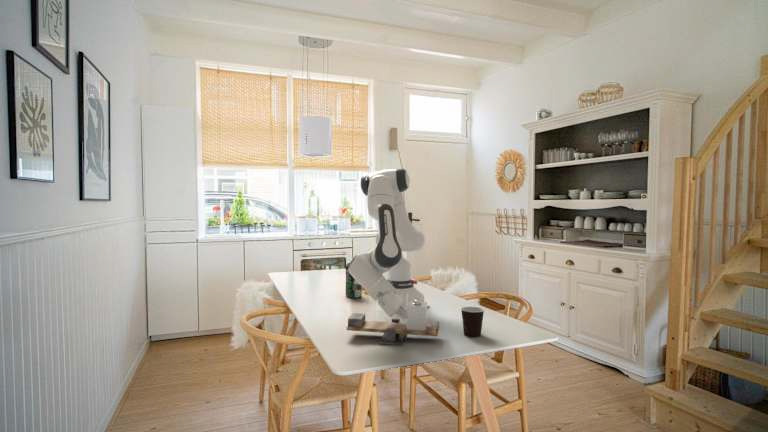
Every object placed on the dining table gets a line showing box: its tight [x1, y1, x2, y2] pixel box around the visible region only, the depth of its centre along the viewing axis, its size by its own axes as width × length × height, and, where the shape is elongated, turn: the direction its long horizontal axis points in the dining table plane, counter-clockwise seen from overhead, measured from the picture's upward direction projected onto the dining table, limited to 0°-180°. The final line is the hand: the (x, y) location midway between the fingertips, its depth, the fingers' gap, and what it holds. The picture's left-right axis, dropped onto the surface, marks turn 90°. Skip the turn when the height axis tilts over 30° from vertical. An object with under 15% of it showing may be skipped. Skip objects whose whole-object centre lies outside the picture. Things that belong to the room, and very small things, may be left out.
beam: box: [346, 312, 440, 337], centre depth 159 cm, size 34×10×4 cm, turn 81°
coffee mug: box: [461, 306, 485, 338], centre depth 164 cm, size 12×9×10 cm
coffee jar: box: [345, 262, 362, 299], centre depth 230 cm, size 10×8×19 cm
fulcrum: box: [379, 318, 406, 347], centre depth 159 cm, size 8×16×6 cm, turn 171°
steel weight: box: [406, 299, 428, 331], centre depth 157 cm, size 7×7×10 cm
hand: (406, 316), depth 158 cm, fingers closed
